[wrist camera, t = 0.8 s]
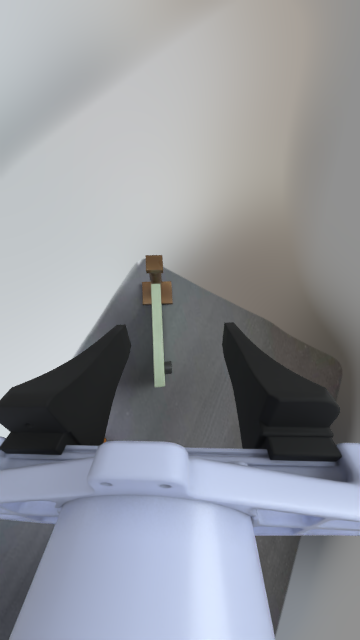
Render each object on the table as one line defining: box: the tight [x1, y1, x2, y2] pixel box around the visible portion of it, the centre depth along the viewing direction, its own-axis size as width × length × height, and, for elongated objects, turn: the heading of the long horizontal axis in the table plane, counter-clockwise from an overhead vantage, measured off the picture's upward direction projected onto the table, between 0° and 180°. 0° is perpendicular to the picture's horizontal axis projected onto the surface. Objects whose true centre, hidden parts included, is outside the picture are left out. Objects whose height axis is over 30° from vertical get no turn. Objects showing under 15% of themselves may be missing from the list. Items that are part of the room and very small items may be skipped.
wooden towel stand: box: [142, 255, 172, 305], centre depth 27 cm, size 4×5×10 cm
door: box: [151, 284, 172, 387], centre depth 26 cm, size 13×2×7 cm, turn 4°
